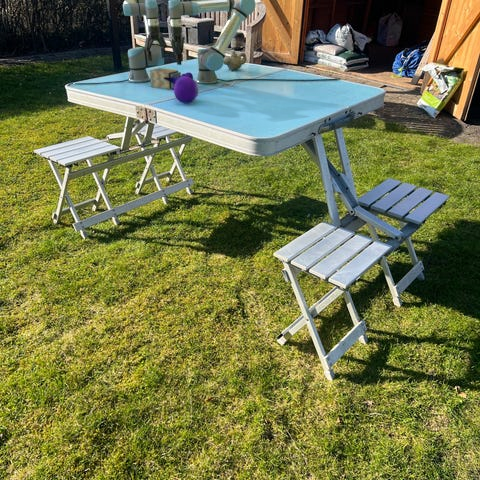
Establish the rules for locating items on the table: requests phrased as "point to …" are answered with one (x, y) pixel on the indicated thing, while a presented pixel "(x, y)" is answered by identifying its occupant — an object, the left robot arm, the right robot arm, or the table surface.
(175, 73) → the drawer
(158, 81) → the tan cardboard box
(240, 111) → the table surface
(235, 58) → the teapot
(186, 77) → the toy
